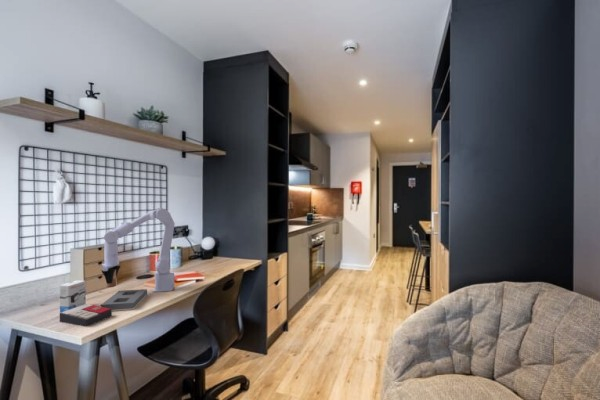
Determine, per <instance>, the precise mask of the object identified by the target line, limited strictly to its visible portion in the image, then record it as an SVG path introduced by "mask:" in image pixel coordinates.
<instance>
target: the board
mask: <svg viewBox="0 0 600 400" xmlns="http://www.w3.org/2000/svg"><path fill="white" fill-rule="evenodd" d="M147 295H148V288H147V289H146V288H144V289H142V288H141V289H128V290H118V291H117V292H116V293H114V294H112V296H110V297H109V298H107V300H105V301H104V302H103V303H101V304H100V307H104V308H109V309H110V310H112V312H115V311H128V310H135V308H136V307H138V306H139V304H140V303H141V302H143V300H145V298H146V297H147Z"/></svg>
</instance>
